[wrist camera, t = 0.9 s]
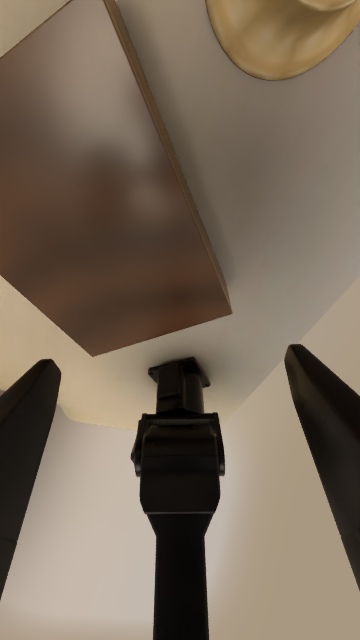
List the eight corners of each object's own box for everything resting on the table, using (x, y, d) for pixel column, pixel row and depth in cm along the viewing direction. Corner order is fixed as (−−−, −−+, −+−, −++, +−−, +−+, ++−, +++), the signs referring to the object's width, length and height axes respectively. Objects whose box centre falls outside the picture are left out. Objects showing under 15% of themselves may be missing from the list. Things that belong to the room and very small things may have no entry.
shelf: (226, 284, 23) (232, 313, 21) (101, 327, 27) (92, 357, 25) (115, 1, 12) (95, -22, 9) (-73, 145, 16) (-128, 162, 13)
